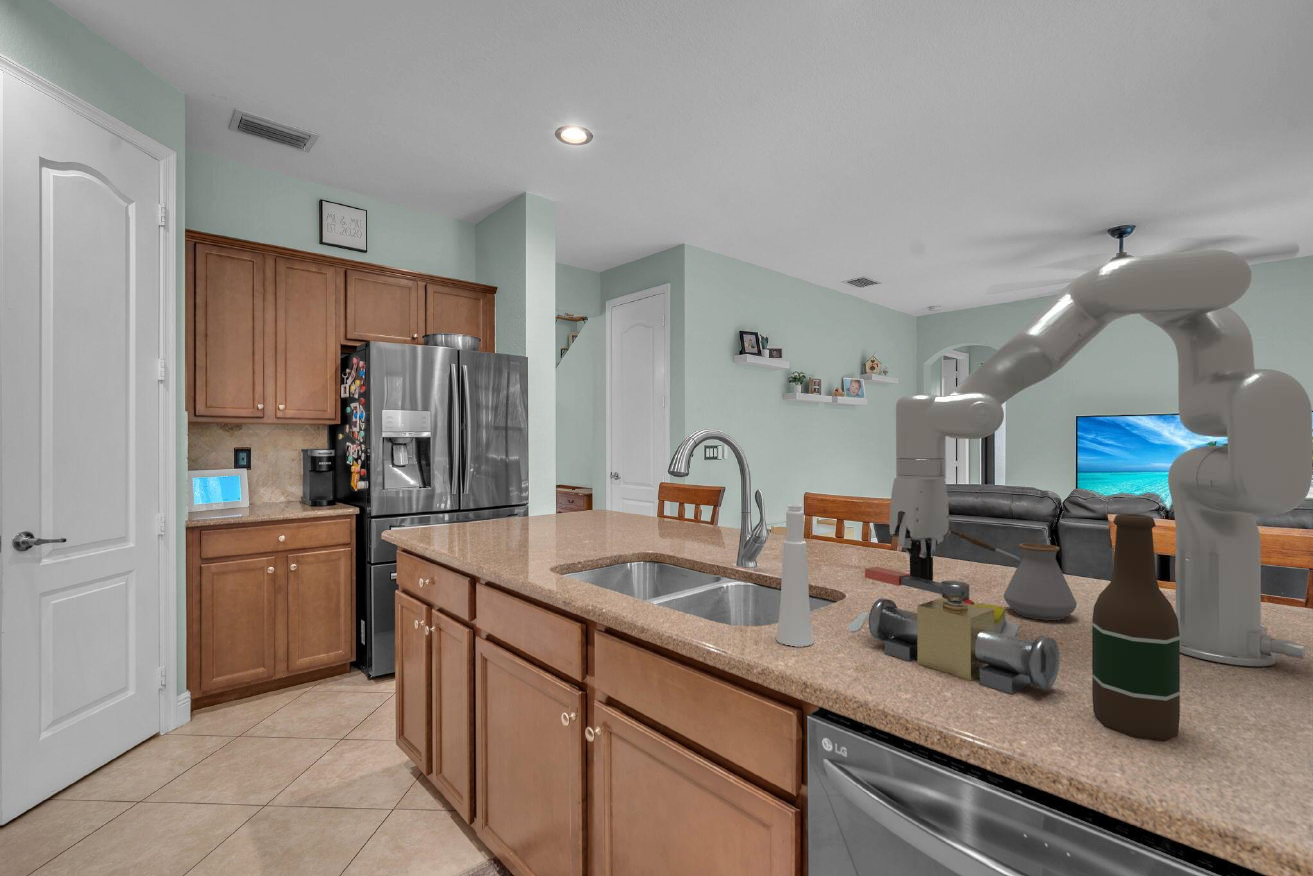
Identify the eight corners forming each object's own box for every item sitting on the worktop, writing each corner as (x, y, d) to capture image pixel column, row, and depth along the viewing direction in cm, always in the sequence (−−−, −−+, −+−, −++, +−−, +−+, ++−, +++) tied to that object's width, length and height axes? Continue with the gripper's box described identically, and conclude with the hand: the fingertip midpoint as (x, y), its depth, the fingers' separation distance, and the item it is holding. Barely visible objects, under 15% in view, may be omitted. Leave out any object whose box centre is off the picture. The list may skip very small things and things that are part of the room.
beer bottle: (1075, 710, 71) (1075, 511, 72) (1135, 708, 72) (1135, 510, 72) (1132, 743, 64) (1132, 520, 64) (1199, 740, 64) (1199, 519, 64)
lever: (877, 576, 99) (877, 564, 99) (974, 598, 85) (974, 584, 85) (863, 578, 97) (863, 566, 97) (959, 602, 83) (959, 588, 83)
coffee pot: (1072, 611, 113) (1072, 532, 113) (1081, 627, 103) (1081, 541, 103) (947, 597, 123) (947, 524, 123) (944, 611, 113) (944, 532, 113)
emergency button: (928, 589, 114) (1020, 602, 105) (928, 612, 114) (1020, 627, 105) (916, 600, 106) (1014, 615, 98) (917, 624, 106) (1014, 641, 98)
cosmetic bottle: (803, 633, 100) (803, 502, 100) (820, 645, 94) (820, 506, 94) (769, 636, 99) (769, 503, 99) (785, 648, 93) (785, 507, 93)
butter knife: (838, 628, 102) (856, 630, 101) (870, 595, 125) (885, 596, 124) (839, 631, 102) (857, 633, 101) (870, 597, 125) (885, 599, 124)
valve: (1060, 688, 78) (1060, 615, 78) (1037, 702, 74) (1037, 625, 74) (892, 639, 97) (892, 581, 97) (867, 648, 93) (867, 587, 93)
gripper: (927, 467, 106) (927, 570, 106) (872, 470, 98) (872, 581, 98) (968, 469, 99) (969, 578, 99) (912, 472, 92) (913, 591, 91)
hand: (921, 579), depth 99 cm, fingers closed
